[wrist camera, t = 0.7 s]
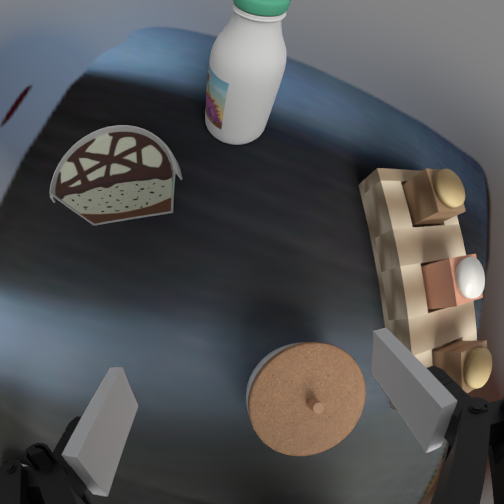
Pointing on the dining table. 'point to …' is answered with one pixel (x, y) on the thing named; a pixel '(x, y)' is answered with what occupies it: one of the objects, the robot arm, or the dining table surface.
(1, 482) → the robot arm
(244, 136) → the milk bottle
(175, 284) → the dining table surface
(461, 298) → the middle button
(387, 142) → the dining table surface
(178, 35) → the dining table surface
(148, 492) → the dining table surface
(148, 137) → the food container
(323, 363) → the lidded jar
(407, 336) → the button mount
